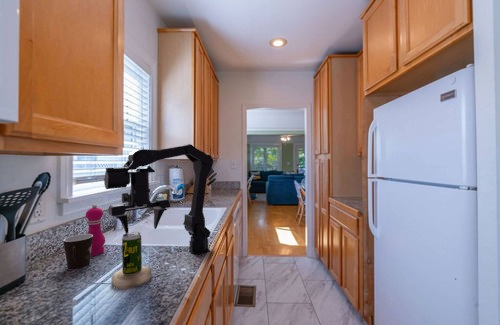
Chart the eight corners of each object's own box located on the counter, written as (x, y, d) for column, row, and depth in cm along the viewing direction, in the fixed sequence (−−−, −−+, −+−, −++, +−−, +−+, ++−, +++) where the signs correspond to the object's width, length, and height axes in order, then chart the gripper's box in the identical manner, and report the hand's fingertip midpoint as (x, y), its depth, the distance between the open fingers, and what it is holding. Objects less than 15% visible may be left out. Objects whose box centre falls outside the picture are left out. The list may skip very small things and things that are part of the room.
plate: (145, 268, 81) (145, 262, 81) (156, 280, 73) (155, 273, 73) (108, 278, 74) (108, 272, 74) (115, 293, 66) (115, 285, 66)
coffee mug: (76, 260, 89) (75, 234, 89) (98, 260, 89) (98, 233, 89) (49, 275, 78) (48, 244, 78) (74, 275, 77) (74, 244, 77)
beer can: (124, 270, 75) (123, 232, 75) (142, 267, 77) (142, 230, 77) (120, 278, 70) (120, 237, 70) (140, 275, 72) (140, 235, 72)
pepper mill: (100, 248, 102) (100, 202, 102) (108, 252, 98) (108, 203, 98) (81, 254, 96) (80, 204, 96) (88, 257, 92) (88, 206, 92)
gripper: (158, 182, 94) (160, 222, 94) (104, 187, 82) (106, 232, 82) (170, 184, 86) (171, 227, 86) (111, 189, 74) (113, 240, 74)
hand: (141, 231), depth 82 cm, fingers open, 9 cm apart
